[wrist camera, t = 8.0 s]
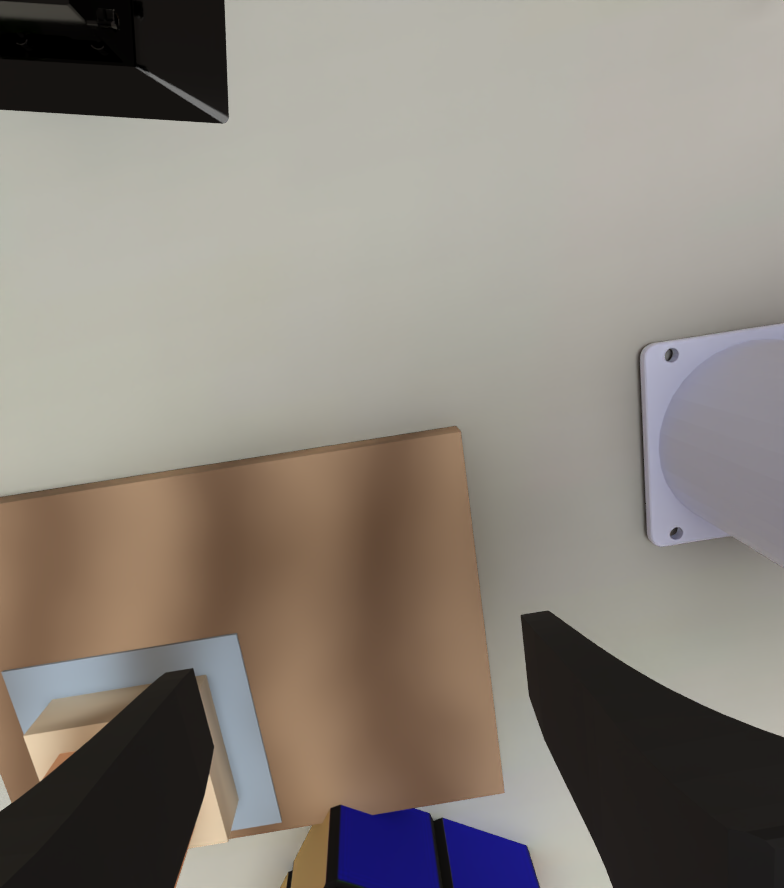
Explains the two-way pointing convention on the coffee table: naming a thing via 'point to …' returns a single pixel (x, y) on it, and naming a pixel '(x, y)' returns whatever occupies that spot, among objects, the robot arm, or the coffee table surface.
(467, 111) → the coffee table surface
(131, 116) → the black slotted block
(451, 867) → the puzzle cube
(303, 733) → the building board
